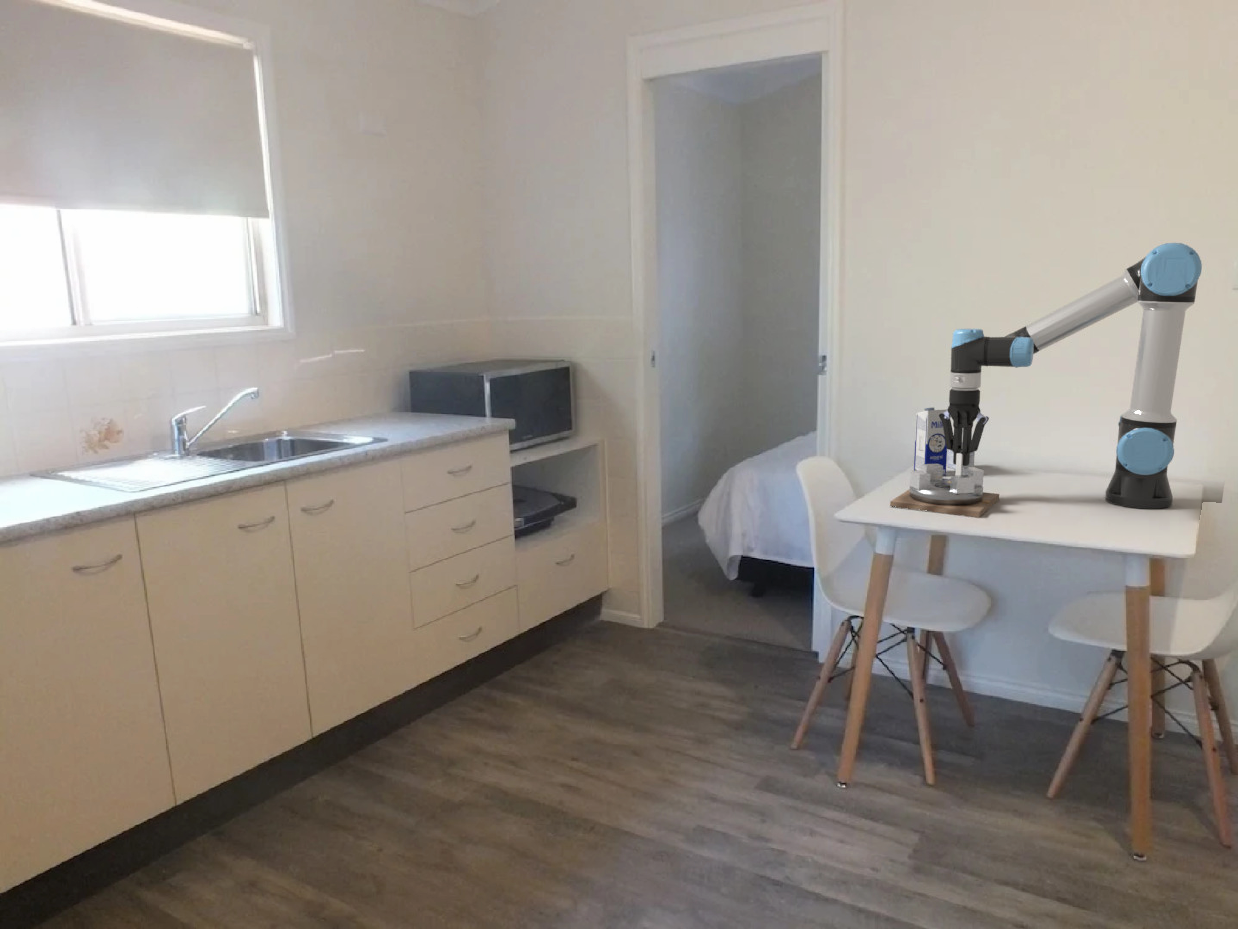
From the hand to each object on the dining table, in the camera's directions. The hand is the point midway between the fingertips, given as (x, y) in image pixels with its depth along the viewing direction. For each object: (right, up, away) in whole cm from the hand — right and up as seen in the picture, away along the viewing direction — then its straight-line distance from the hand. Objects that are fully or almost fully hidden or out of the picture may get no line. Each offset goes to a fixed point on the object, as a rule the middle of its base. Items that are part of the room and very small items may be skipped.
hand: (960, 477), depth 247 cm
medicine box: (+14, +2, +38) cm, 41 cm away
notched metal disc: (-6, -5, -4) cm, 9 cm away
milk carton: (+2, 0, +32) cm, 32 cm away
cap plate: (-6, -7, -4) cm, 10 cm away
